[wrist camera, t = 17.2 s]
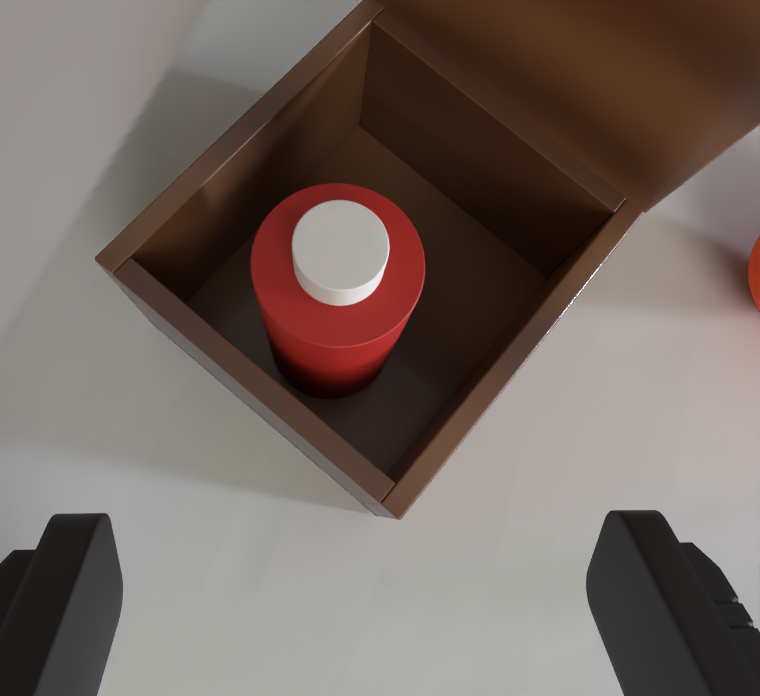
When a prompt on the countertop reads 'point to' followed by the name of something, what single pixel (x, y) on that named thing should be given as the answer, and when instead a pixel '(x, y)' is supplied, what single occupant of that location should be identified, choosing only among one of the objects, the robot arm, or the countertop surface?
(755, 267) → the clementine
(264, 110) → the chest
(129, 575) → the countertop surface
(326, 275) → the sauce bottle
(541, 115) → the lid
